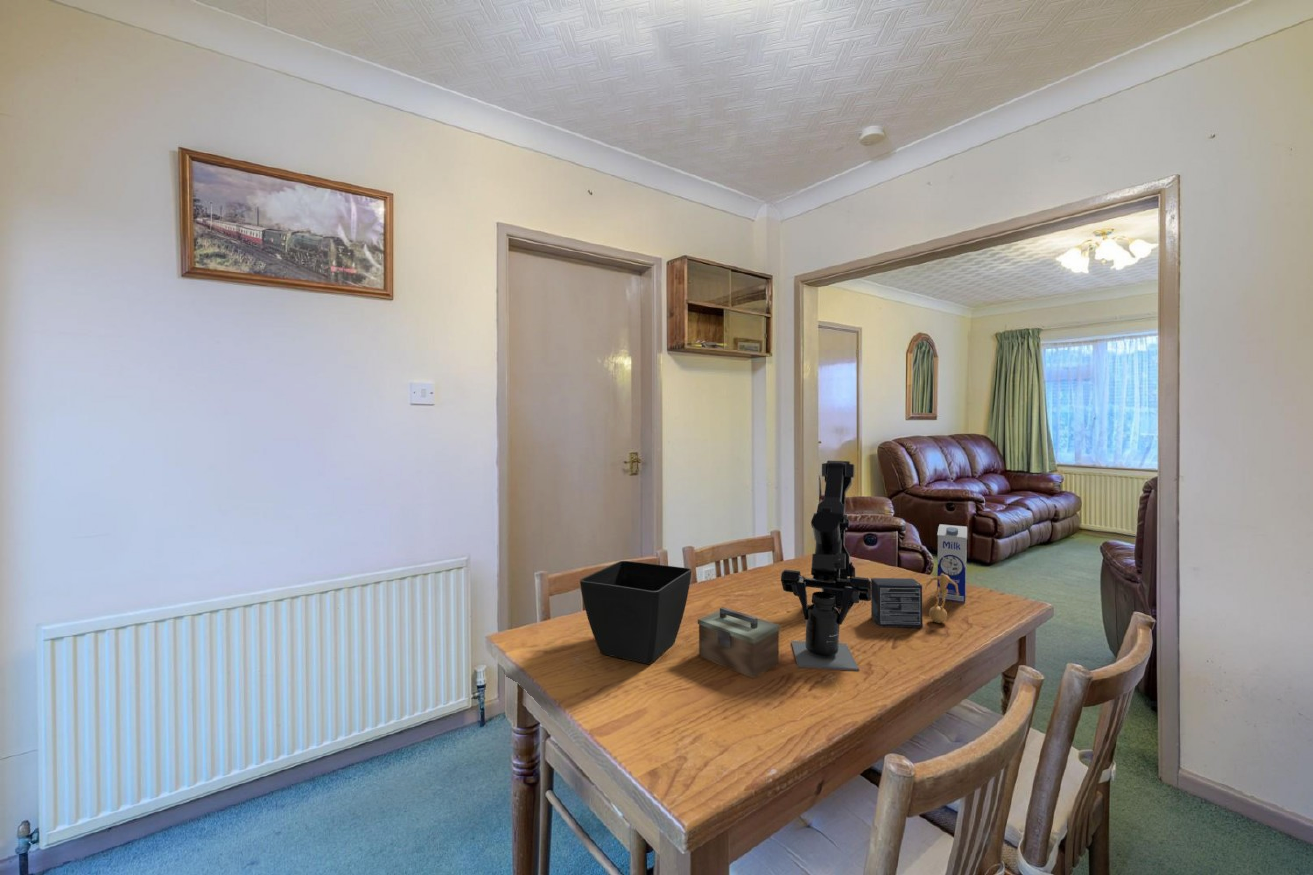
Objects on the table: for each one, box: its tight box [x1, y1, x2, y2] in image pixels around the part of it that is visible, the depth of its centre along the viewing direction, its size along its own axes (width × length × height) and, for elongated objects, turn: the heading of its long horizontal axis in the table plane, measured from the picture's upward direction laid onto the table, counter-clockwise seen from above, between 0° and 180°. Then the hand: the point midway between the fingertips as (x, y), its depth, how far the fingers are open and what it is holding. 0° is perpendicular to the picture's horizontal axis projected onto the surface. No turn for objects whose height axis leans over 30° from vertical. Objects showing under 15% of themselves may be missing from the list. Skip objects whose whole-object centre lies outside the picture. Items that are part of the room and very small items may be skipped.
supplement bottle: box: [805, 591, 840, 656], centre depth 113 cm, size 7×7×12 cm
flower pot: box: [579, 560, 692, 665], centre depth 117 cm, size 19×19×17 cm
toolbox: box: [697, 606, 781, 679], centre depth 111 cm, size 14×10×10 cm
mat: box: [790, 640, 860, 671], centre depth 113 cm, size 12×12×1 cm
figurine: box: [924, 573, 959, 624], centre depth 131 cm, size 8×6×12 cm
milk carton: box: [936, 524, 968, 604], centre depth 148 cm, size 7×7×20 cm
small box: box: [870, 577, 924, 629], centre depth 131 cm, size 11×6×10 cm, turn 84°
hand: (822, 621), depth 112 cm, fingers closed on supplement bottle, 7 cm apart
